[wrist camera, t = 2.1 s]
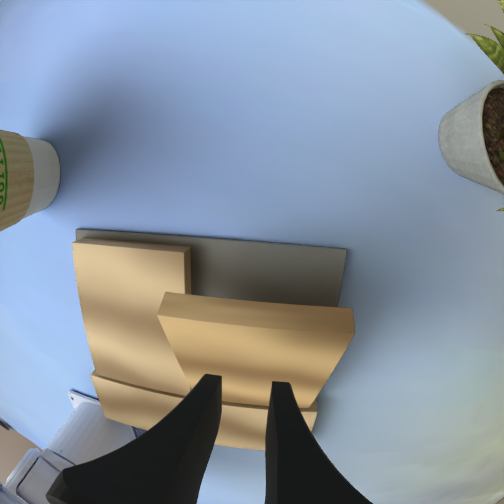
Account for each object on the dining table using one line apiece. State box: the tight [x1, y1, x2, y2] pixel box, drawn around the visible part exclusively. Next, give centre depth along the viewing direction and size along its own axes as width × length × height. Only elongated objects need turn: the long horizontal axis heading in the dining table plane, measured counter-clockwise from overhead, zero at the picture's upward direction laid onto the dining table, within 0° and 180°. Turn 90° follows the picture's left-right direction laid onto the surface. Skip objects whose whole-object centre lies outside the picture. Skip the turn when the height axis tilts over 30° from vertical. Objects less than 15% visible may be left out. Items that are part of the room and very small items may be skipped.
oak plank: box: [157, 292, 355, 408], centre depth 17 cm, size 12×9×1 cm
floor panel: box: [72, 229, 347, 450], centre depth 21 cm, size 19×20×2 cm
